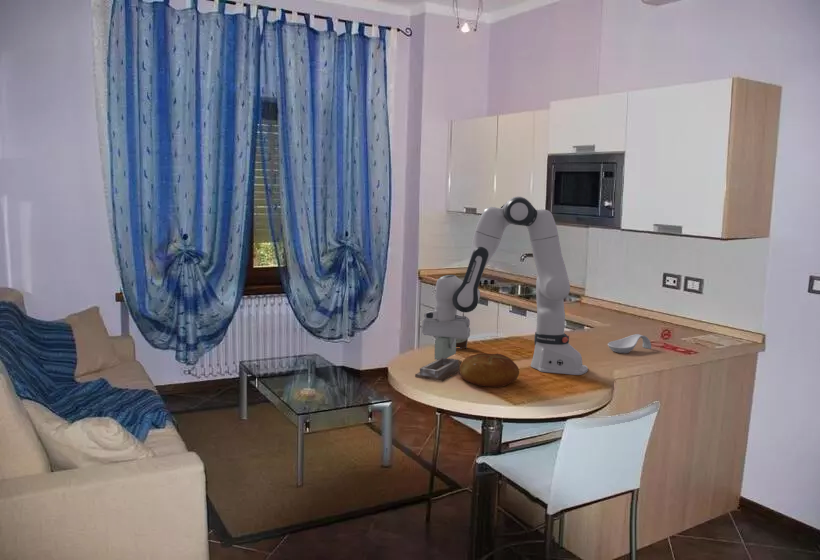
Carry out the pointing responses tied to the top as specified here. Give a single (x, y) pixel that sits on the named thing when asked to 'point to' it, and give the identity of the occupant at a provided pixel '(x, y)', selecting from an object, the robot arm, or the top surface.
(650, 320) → the top surface
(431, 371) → the grey rectangular tray
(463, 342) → the food container
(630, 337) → the spoon rest
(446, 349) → the pale green rectangular block
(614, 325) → the top surface
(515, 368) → the bread
